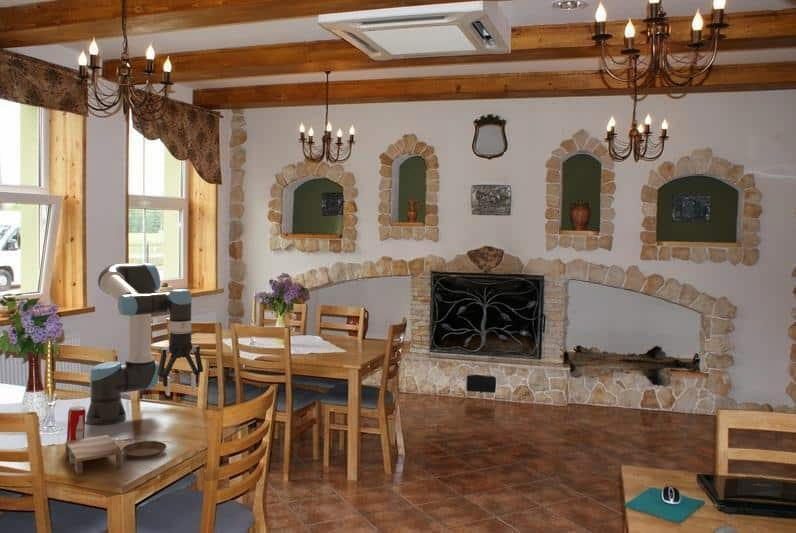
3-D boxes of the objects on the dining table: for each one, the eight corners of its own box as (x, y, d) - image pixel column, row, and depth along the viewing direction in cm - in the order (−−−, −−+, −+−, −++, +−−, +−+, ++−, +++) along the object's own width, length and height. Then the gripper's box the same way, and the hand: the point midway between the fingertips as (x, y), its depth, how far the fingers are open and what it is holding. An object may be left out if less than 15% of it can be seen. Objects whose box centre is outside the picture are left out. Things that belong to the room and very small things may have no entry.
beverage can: (66, 446, 252) (66, 406, 251) (86, 444, 254) (85, 405, 253) (66, 452, 246) (65, 410, 245) (85, 450, 249) (85, 409, 248)
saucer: (163, 461, 240) (163, 453, 240) (118, 463, 237) (118, 455, 237) (168, 447, 255) (168, 439, 254) (126, 449, 251) (126, 441, 251)
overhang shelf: (65, 458, 240) (65, 441, 240) (108, 451, 248) (108, 434, 248) (77, 477, 224) (77, 459, 223) (122, 468, 232) (122, 451, 231)
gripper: (153, 336, 241) (153, 399, 243) (212, 331, 253) (212, 391, 255) (147, 332, 247) (147, 394, 249) (205, 328, 259) (205, 387, 261)
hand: (180, 393), depth 252 cm, fingers open, 9 cm apart
